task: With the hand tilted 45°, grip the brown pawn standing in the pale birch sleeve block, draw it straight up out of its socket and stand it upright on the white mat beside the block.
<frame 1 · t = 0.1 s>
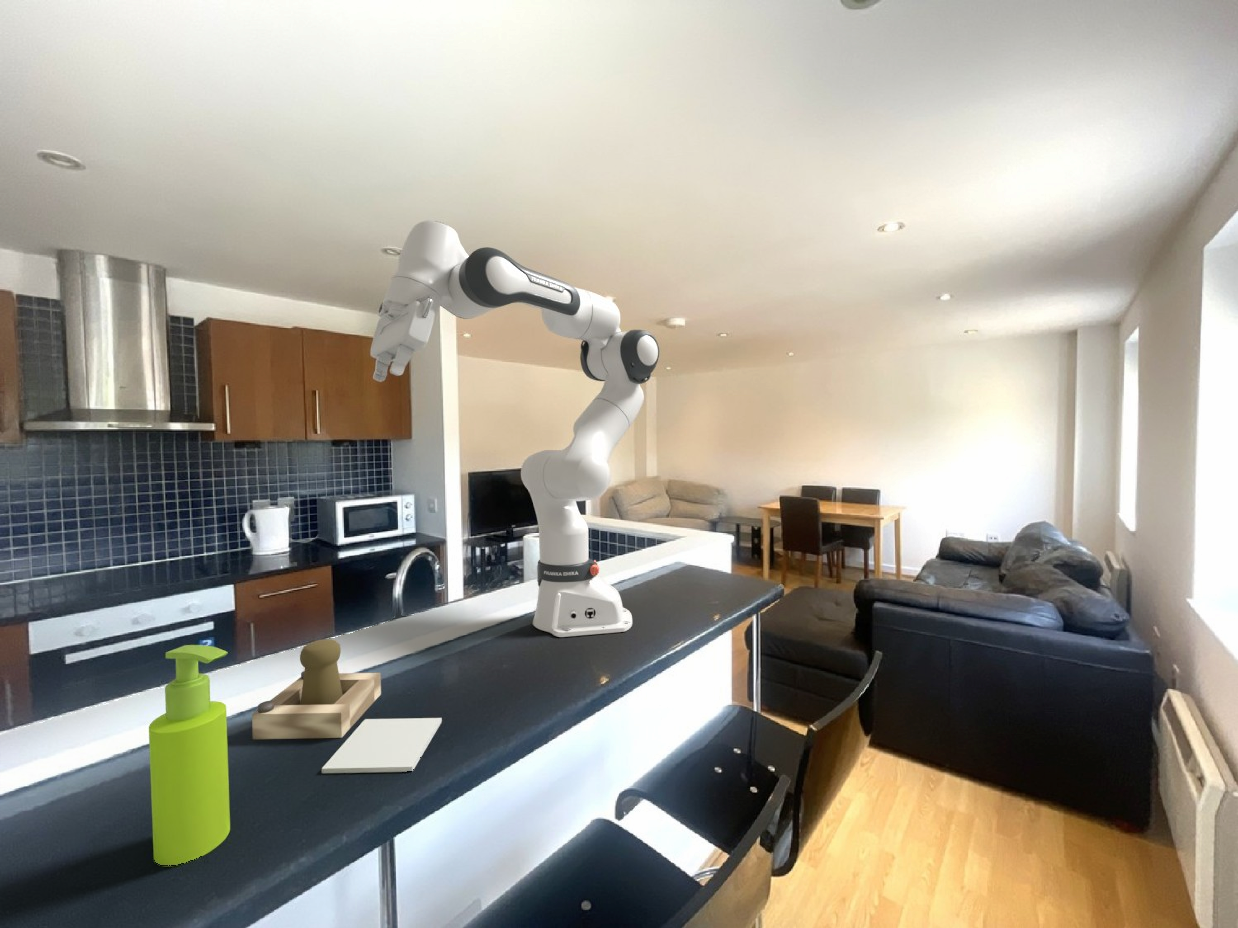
hand: (386, 377, 86), 52 cm above the worktop, tool tilted 20°, fingers open, 8 cm apart
brown pawn: (322, 716, 74), resting in sleeve block
soap dispenser: (197, 844, 50), on the worktop
white mat: (386, 745, 67), on the worktop
sleeve block: (322, 714, 74), on the worktop
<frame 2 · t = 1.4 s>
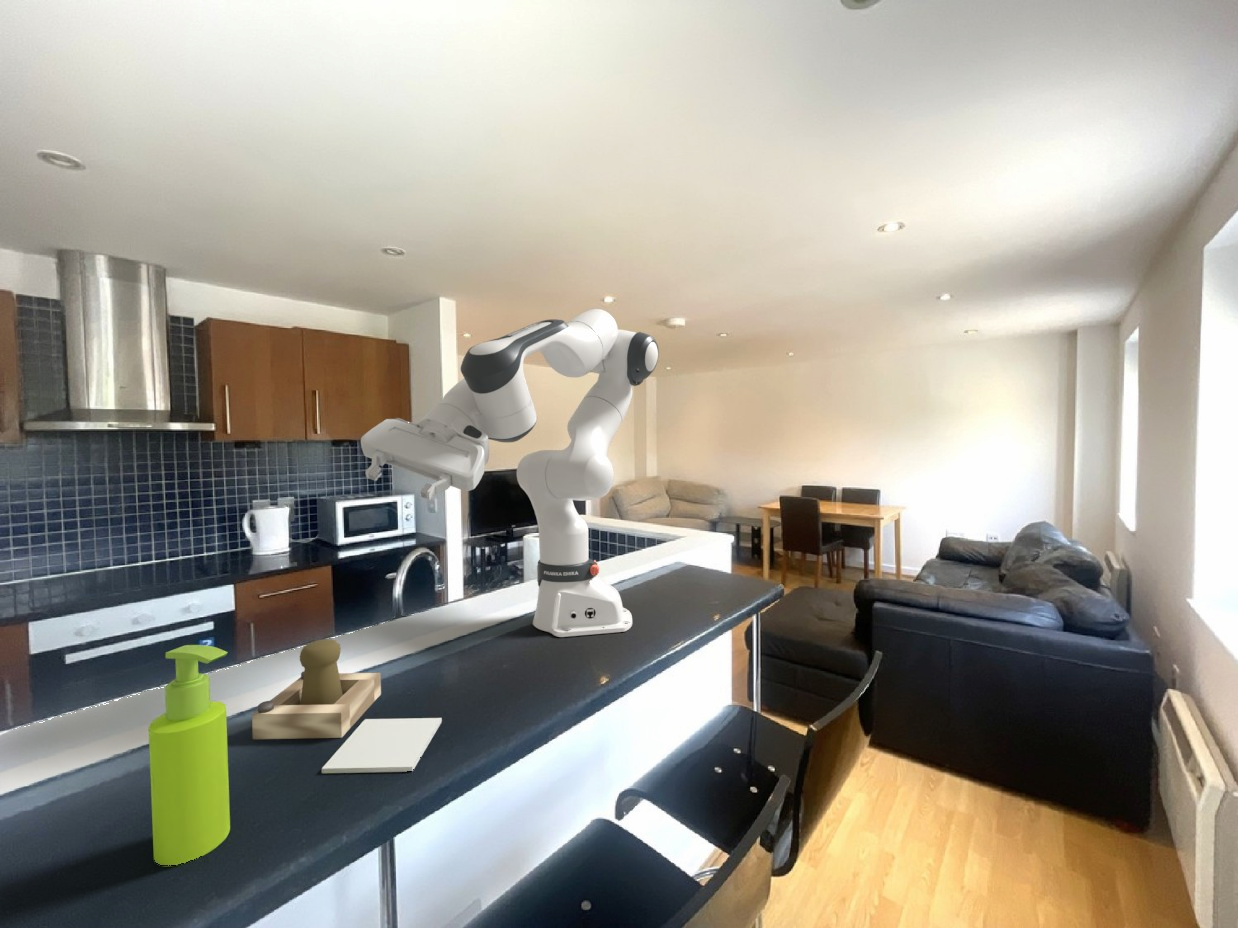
hand: (397, 486, 78), 34 cm above the worktop, tool tilted 55°, fingers open, 8 cm apart
nothing on the worktop moved.
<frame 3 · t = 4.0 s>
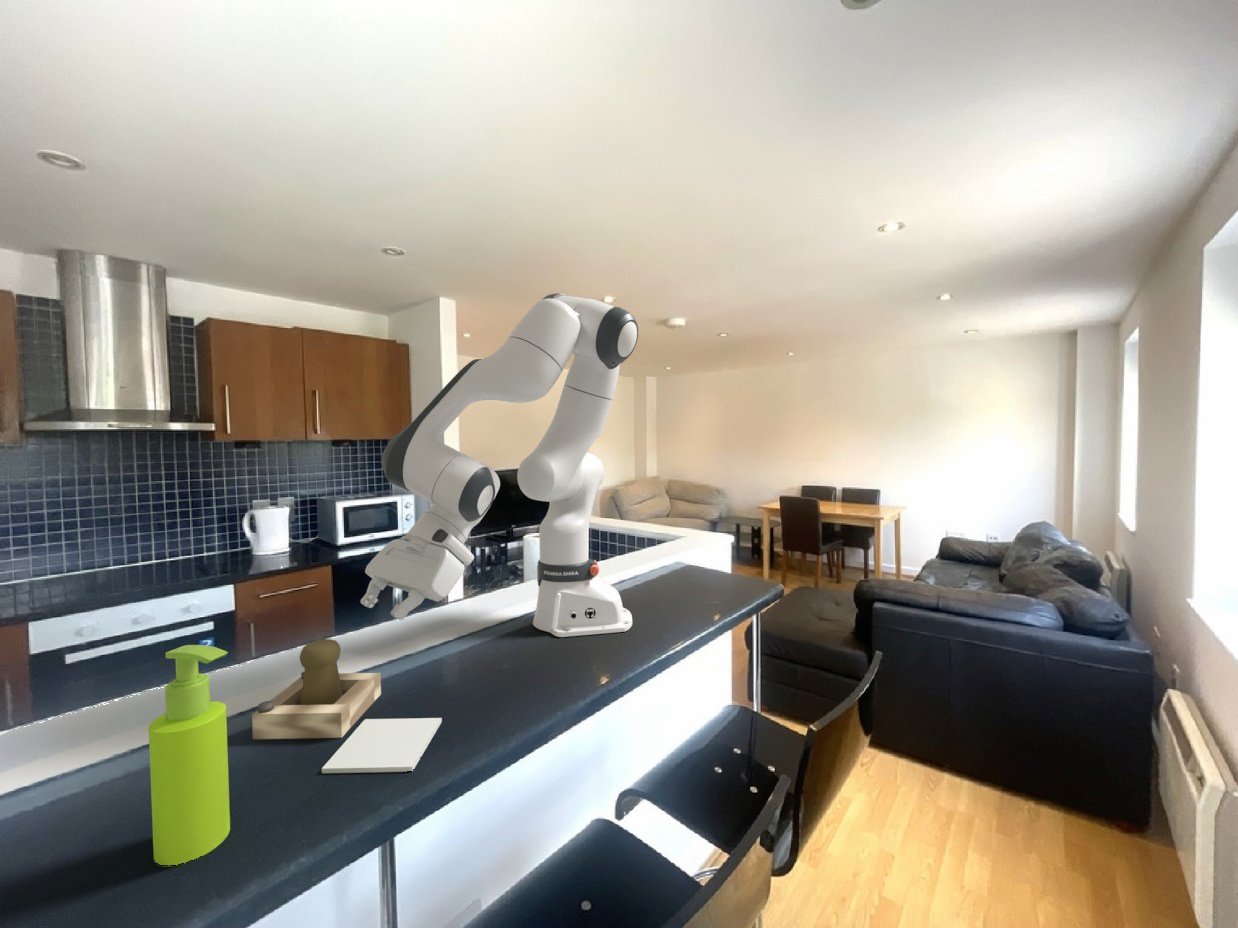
hand: (379, 611, 80), 14 cm above the worktop, tool tilted 45°, fingers open, 8 cm apart
nothing on the worktop moved.
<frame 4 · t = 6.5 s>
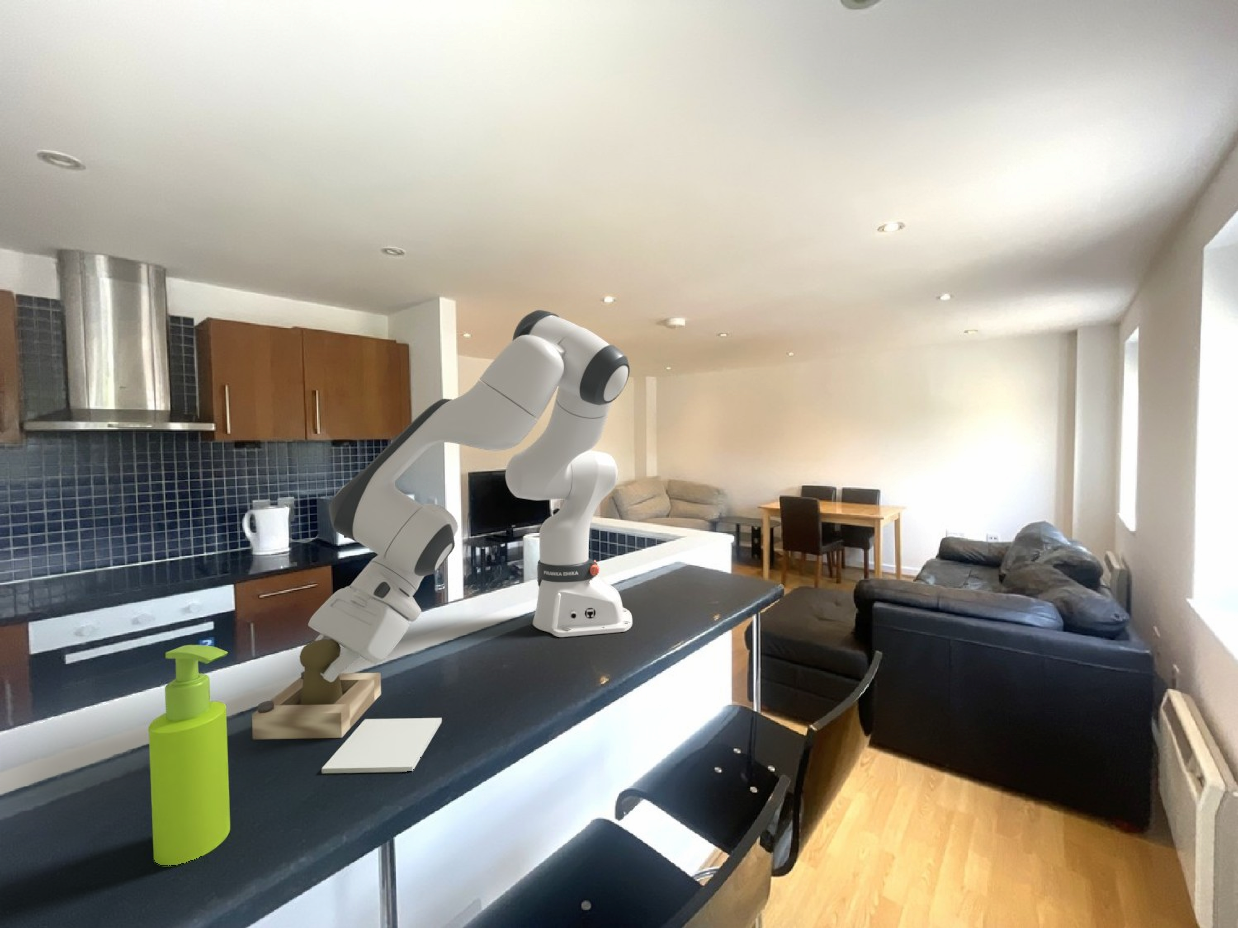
hand: (316, 672, 74), 7 cm above the worktop, tool tilted 45°, fingers closed on brown pawn, 5 cm apart
brown pawn: (322, 716, 74), resting in sleeve block, touching gripper
everything else where it was.
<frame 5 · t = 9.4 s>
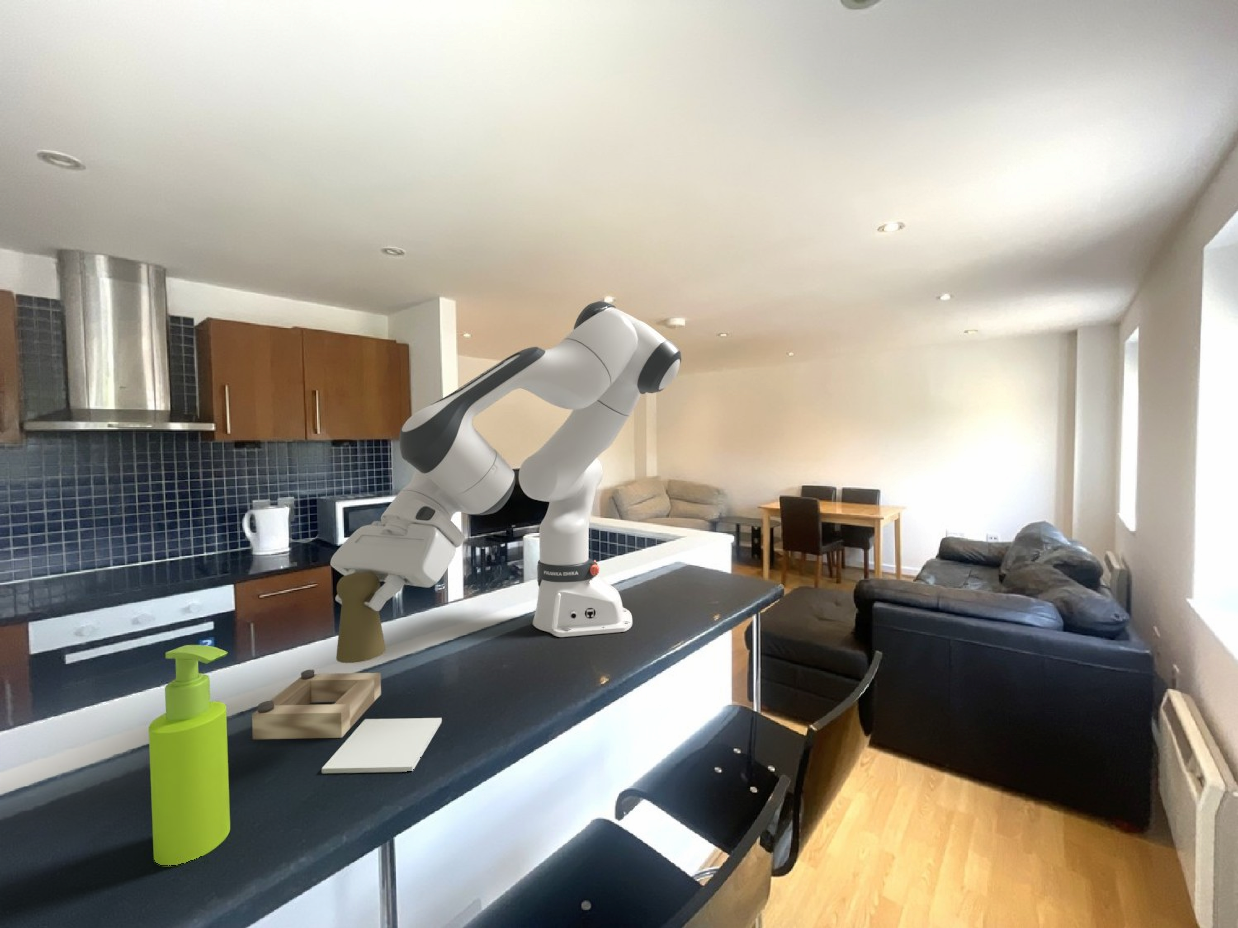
hand: (355, 605, 67), 19 cm above the worktop, tool tilted 45°, fingers closed on brown pawn, 5 cm apart
brown pawn: (361, 655, 68), point 12 cm above the worktop, touching gripper
everything else where it was.
when the fingers open (9 cm above the worktop, at t = 12.2 s): brown pawn moves 3 cm, resting on white mat.
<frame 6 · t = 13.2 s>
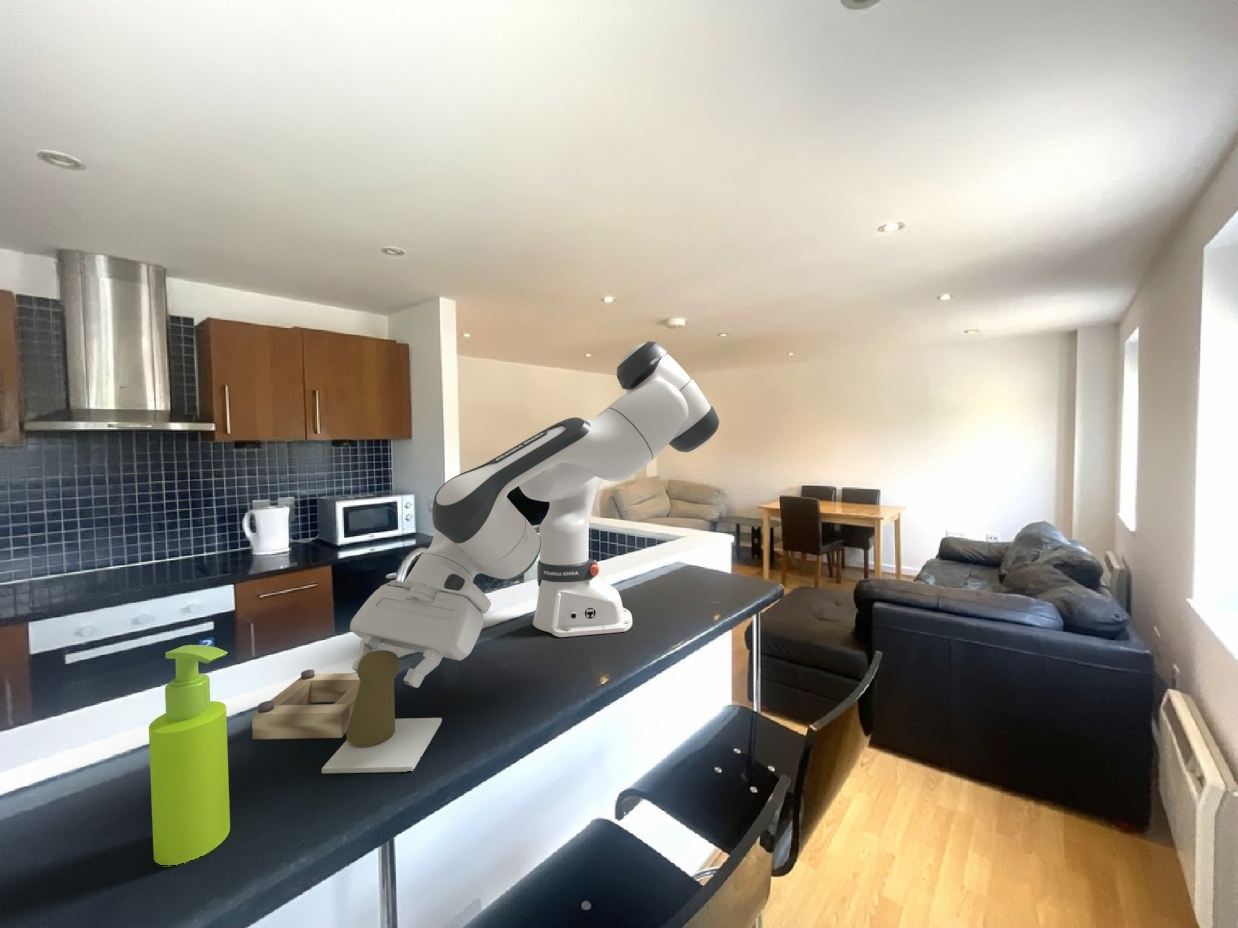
hand: (383, 678, 67), 9 cm above the worktop, tool tilted 45°, fingers open, 8 cm apart
brown pawn: (370, 733, 68), point 1 cm above the worktop, touching white mat, gripper
everything else where it was.
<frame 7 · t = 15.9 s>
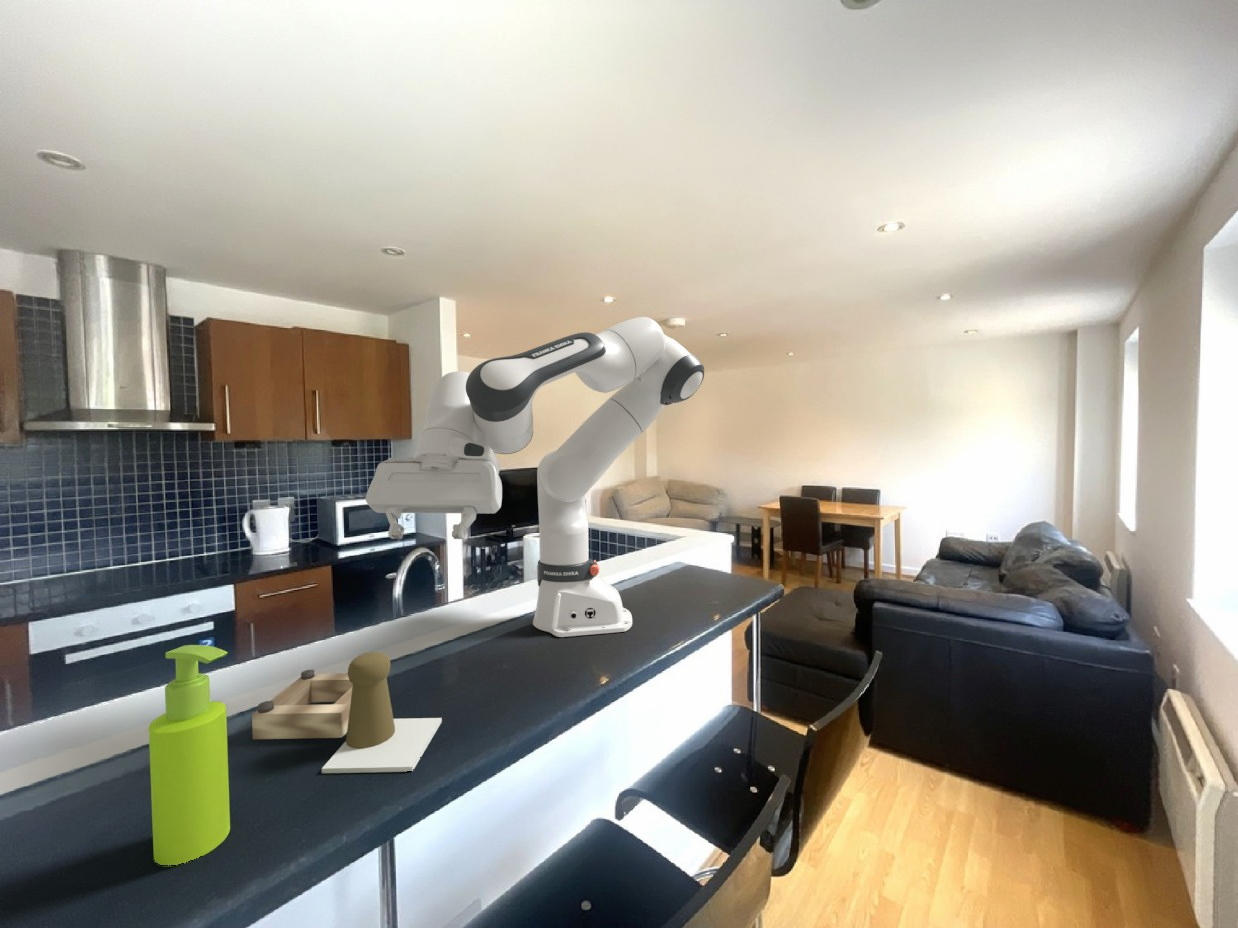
hand: (426, 537, 74), 26 cm above the worktop, tool tilted 35°, fingers open, 8 cm apart
brown pawn: (371, 736, 68), resting on white mat
everything else where it was.
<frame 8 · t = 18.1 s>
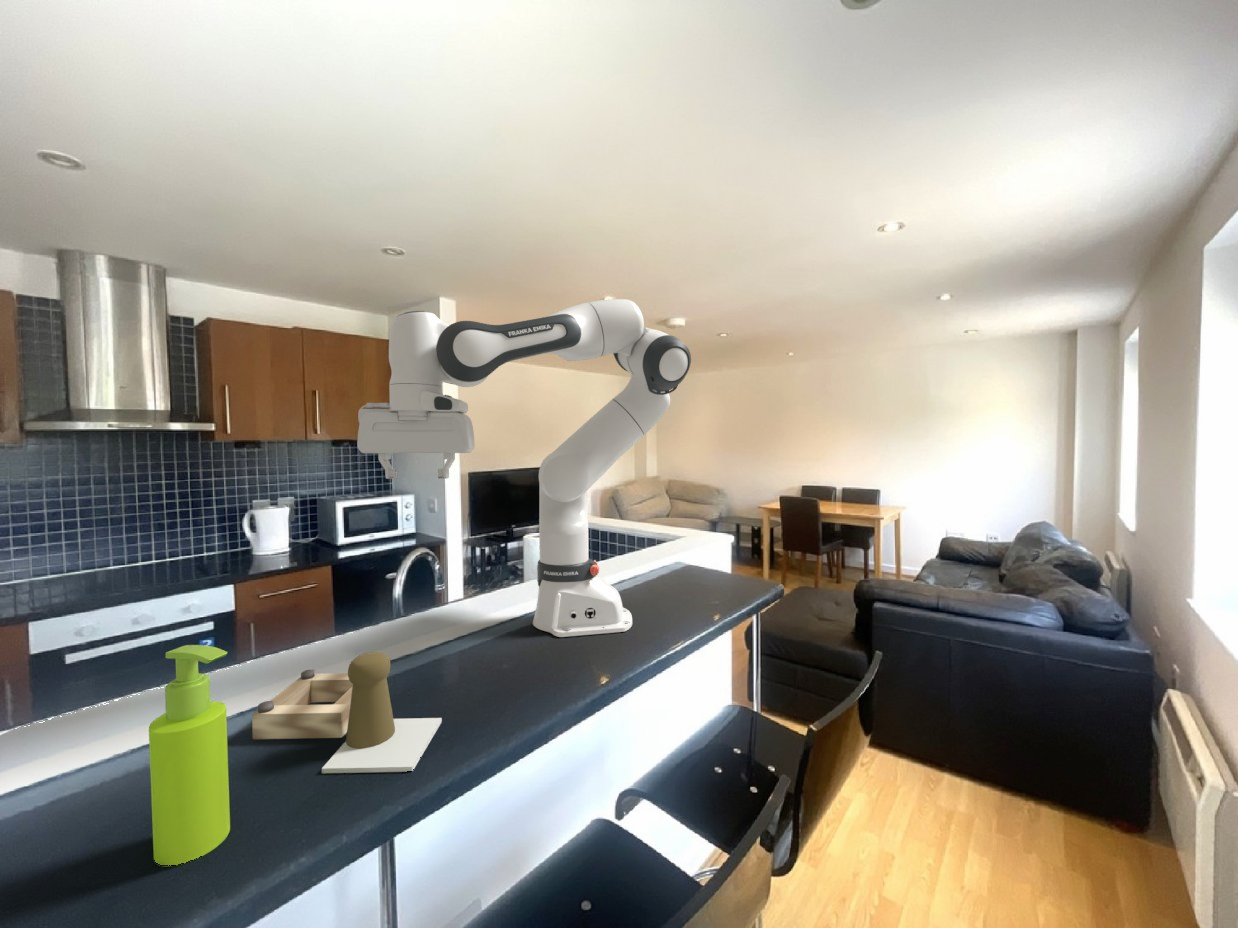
hand: (417, 478, 91), 34 cm above the worktop, tool pointing down, fingers open, 8 cm apart
nothing on the worktop moved.
at the end: brown pawn inside the target area (3.0 cm from its centre), resting on white mat; brown pawn tilted 0°; the gripper is holding nothing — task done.
